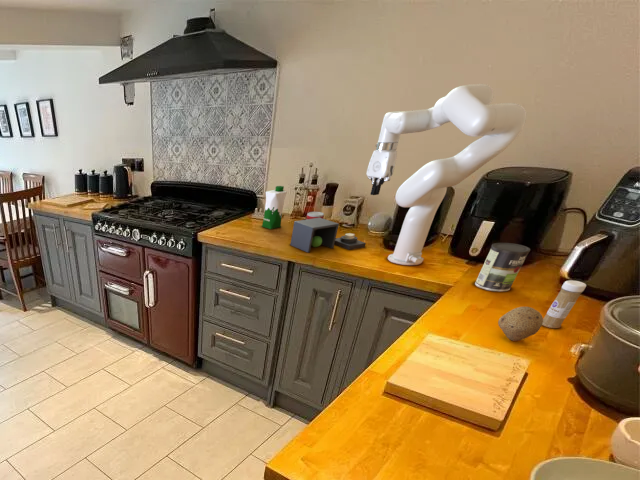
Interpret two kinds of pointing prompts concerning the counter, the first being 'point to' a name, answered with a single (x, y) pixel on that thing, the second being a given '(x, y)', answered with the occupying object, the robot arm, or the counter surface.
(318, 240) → the ball
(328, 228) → the cubby
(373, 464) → the counter surface
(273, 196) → the milk carton
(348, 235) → the button
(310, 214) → the canned food
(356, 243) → the button housing
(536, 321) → the potato
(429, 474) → the counter surface
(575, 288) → the sprinkles bottle
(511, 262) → the coffee can
